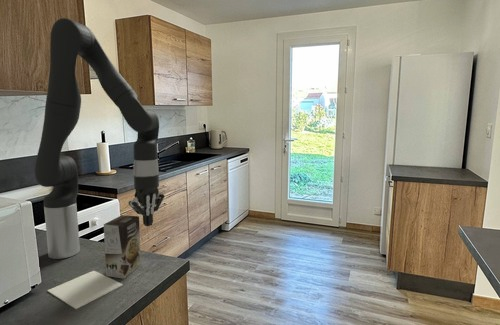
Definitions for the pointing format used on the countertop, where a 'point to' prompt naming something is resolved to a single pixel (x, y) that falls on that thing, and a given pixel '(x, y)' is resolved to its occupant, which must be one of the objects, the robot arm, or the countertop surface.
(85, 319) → the countertop surface
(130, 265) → the coffee box
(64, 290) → the mat
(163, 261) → the countertop surface
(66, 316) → the countertop surface
